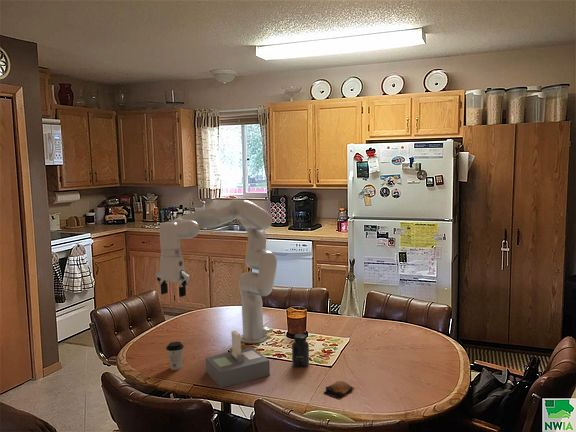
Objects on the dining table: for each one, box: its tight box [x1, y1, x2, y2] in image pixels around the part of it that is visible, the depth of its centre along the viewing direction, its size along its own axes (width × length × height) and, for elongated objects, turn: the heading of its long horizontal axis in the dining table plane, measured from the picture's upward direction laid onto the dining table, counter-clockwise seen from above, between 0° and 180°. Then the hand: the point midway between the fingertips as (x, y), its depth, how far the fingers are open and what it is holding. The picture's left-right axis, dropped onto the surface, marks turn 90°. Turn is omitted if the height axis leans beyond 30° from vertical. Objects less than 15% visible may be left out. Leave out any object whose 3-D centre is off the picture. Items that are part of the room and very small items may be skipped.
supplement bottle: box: [291, 333, 310, 368], centre depth 196 cm, size 7×7×12 cm
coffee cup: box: [165, 341, 184, 371], centre depth 197 cm, size 7×7×10 cm
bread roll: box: [323, 380, 355, 400], centre depth 173 cm, size 11×8×4 cm
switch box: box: [205, 346, 271, 389], centre depth 189 cm, size 20×16×9 cm
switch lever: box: [230, 330, 242, 359], centre depth 189 cm, size 2×5×10 cm, turn 29°
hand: (173, 294), depth 196 cm, fingers open, 9 cm apart
